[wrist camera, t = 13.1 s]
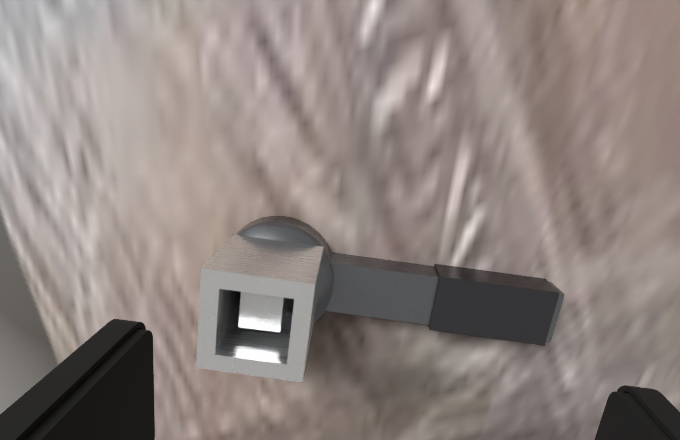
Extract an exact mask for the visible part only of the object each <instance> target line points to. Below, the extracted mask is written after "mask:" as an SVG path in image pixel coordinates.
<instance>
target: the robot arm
mask: <svg viewBox="0 0 680 440" xmlns="http://www.w3.org/2000/svg"><path fill="white" fill-rule="evenodd" d="M154 438H155V425H154V374H153V336H152V333H151V331H148V330H146V328H145V325H144V324H143V323H142V322H135V321H127V320H119V319H113V320H111V321H110V322H109V323H107V324H106V325H105V326H104V327H103V328H101V329H100V330H99V331H98V332H97V333H96V334H94V335H93V336H92V337H91V338H90V339H89V340H87V341H86V342H85V343H84V344H83V345H82V346H80V347H79V348H78V349H77V350H76V351H74V352H73V353H72V354H71V355H70V356H69V357H67V358H66V359H65V360H64V361H63V362H62V363H60V364H59V365H58V366H57V367H56V368H54V369H53V370H52V371H51V372H50V373H49V374H47V375H46V376H45V377H44V378H43V379H42V380H40V381H39V382H38V383H37V384H36V385H35V386H33V387H32V388H31V389H30V390H29V391H28V392H26V393H25V394H24V395H23V396H22V397H20V398H19V399H18V400H17V401H16V402H15V403H13V404H12V405H11V406H10V407H9V408H7V409H6V410H5V411H4V412H3V413H2V414H0V440H154ZM595 440H680V412H679V411H678V410H677V409H676V408H675V407H674V406H673V405H672V404H671V403H670V402H669V401H668V400H667V399H666V398H665V397H664V396H663V395H662V394H661V393H660V392H659V391H657V390H654V389H648V388H641V387H633V386H621V387H620V388H619V389H618V390H617V392H612V393H611V394H610V395H609V397H608V400H607V403H606V406H605V409H604V412H603V415H602V418H601V421H600V425H599V428H598V431H597V434H596V437H595Z"/></svg>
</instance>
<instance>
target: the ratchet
mask: <svg viewBox="0 0 680 440" xmlns="http://www.w3.org/2000/svg"><path fill="white" fill-rule="evenodd" d="M236 235H242V236H249V237H256V238H264V239H271V240H278V241H285V242H293V243H300V244H307V245H314V246H322V247H324V248H323V256H322V263H321V271H320V279H319V287H318V294H317V302H316V310H315V317H314V323H315V322H316V321H317V320H318V319H319V318H320V317H321V316H322V314H323V313H324V312H325V311H329V312H337V313H344V314H351V315H359V316H366V317H373V318H381V319H388V320H396V321H403V322H410V323H418V324H425V325H428V327H429V330H434V331H442V332H449V333H456V334H464V335H471V336H478V337H486V338H493V339H500V340H508V341H515V342H522V343H530V344H537V345H545V342H546V341H550V342H551V338H552V335H553V331H554V328H555V325H556V321H557V318H558V315H559V311H560V308H561V304H562V301H563V298H564V294H563V293H562V292H561V291H560V290H559V289H558V288H557V287H556V286H555V285H554V284H553V283H551V282H548V281H547V280H546V279H542V278H534V277H527V276H520V275H512V274H505V273H497V272H490V271H483V270H475V269H468V268H461V267H453V266H446V265H439V264H435V265H434V266H426V265H419V264H412V263H404V262H397V261H390V260H382V259H375V258H368V257H360V256H353V255H346V254H338V253H331V250H330V248H329V246H328V244H327V243H326V241H325V240H324V238H323V237H322V236H321V235H320V234H319V233H318V232H317V231H316V230H315V229H313V228H312V227H311V226H309V225H308V224H306V223H304V222H302V221H300V220H297V219H294V218H290V217H284V216H270V217H265V218H261V219H258V220H255V221H253V222H251V223H249V224H248V225H246V226H245V227H244V228H242V229H241V230H240V231H239V232H238V233H237V234H236ZM293 305H294V299H291V298H283V297H276V296H269V295H262V294H254V293H247V292H241V297H240V310H239V324H238V327H243V328H250V329H257V330H265V331H272V332H279V333H280V331H281V328H282V325H283V322H284V319H285V316H286V313H287V311H288V312H293Z"/></svg>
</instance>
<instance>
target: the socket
mask: <svg viewBox="0 0 680 440" xmlns="http://www.w3.org/2000/svg"><path fill="white" fill-rule="evenodd" d="M323 248H324V247H322V246H314V245H307V244H300V243H293V242H285V241H278V240H271V239H264V238H256V237H249V236H242V235H235V234H233V235H232V236H231V237H230V238H229V239H228V240H227V241H226V242H225V243H224V244H223V245H222V247H221V248H220V249H219V250H218V251H217V252H216V253H215V254H214V255H213V256H212V257H211V258H210V259H209V261H208V262H207V263H206V264H205V265H204V266H203V267H202V268H201V282H200V302H199V323H198V343H197V363H196V368H201V369H208V370H216V371H223V372H230V373H237V374H245V375H252V376H259V377H266V378H274V379H281V380H288V381H295V382H302V383H303V378H304V373H305V368H306V363H307V357H308V352H309V347H310V342H311V337H312V331H313V325H314V317H315V310H316V302H317V294H318V287H319V279H320V271H321V263H322V256H323ZM241 292H247V293H254V294H262V295H269V296H276V297H283V298H291V299H294V305H293V312H288V311H287V313H286V316H285V319H284V322H283V325H282V328H281V331H280V333H279V332H272V331H265V330H257V329H250V328H243V327H238V324H239V310H240V297H241Z"/></svg>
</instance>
